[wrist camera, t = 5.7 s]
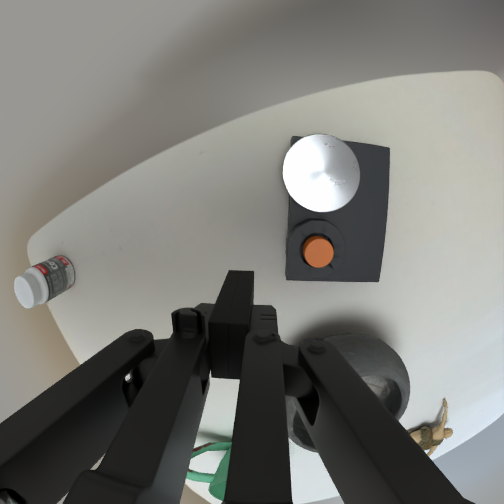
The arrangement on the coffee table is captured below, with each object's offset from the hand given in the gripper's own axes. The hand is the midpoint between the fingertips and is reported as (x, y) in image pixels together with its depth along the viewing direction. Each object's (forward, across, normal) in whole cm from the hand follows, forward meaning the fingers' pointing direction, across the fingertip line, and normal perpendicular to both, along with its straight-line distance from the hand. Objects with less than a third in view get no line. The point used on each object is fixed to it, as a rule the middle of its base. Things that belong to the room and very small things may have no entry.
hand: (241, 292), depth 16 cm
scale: (+12, +9, +4) cm, 16 cm away
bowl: (+12, +11, -15) cm, 22 cm away
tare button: (+9, +6, +1) cm, 11 cm away
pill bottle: (+13, -25, -4) cm, 29 cm away
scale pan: (+9, +6, +8) cm, 13 cm away
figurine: (+12, +31, -34) cm, 48 cm away
